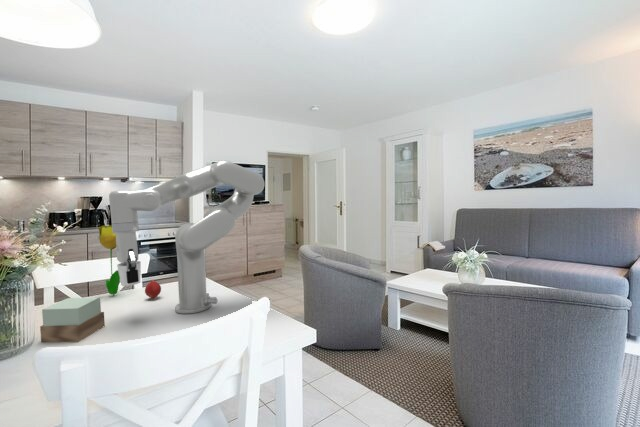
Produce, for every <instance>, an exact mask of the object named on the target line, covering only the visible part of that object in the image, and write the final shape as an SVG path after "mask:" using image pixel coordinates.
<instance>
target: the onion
mask: <svg viewBox="0 0 640 427" xmlns="http://www.w3.org/2000/svg"><path fill="white" fill-rule="evenodd" d="M161 292H162V286H161V284H160V283H159V282H157V281H155V279H151V281H150V282H148V283H147V284H146V286H145V288H144V293H145V295H146V296H148V297H149V298H150V299H153V300H154V299H156V298H157V297H158V296H159V295H160V293H161Z"/></svg>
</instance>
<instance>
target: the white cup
mask: <svg viewBox="0 0 640 427" xmlns="http://www.w3.org/2000/svg"><path fill="white" fill-rule="evenodd" d="M136 264H137V270H138V279H139V281H138V282H134V283H129V284H128V283H127V274H126V271H127V266H126V262H124V264H122V263H121V262H119V263H117V264H116V265H117V266H116V267H117V270H118V272H119V277H120V281H119V282H120V285H121V286H122V287H129V286H131V287H132V286H134V285H138V284H140V283H141V274H142V273H141V268H142V267H141V265H142V264H141V261H139V260H138V261H136Z"/></svg>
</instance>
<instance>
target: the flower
mask: <svg viewBox="0 0 640 427" xmlns="http://www.w3.org/2000/svg"><path fill="white" fill-rule="evenodd" d="M98 233H99V236H98V238H99V243H100V245H101V246H102V247H103V248H105V249H107V250H110V252H109V253H110V269H111V270H110V272H111V275H110V278H109V279H107V280H105V286H106V289H107V291H108V293H109V295H112V296H113V297H114V296H115V295H116V294H118V292H119V285H120V282H121V281H120V277H119V272H118V269H117V270H115V271H114V272H113V264H112V263H113V259H112V257H113V255H112V254H113V252H112V251H113V250H114V249H116V234H113V231H112V224H110V225H109V226H107V225H101V226H99V227H98Z"/></svg>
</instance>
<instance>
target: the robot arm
mask: <svg viewBox="0 0 640 427" xmlns="http://www.w3.org/2000/svg"><path fill="white" fill-rule="evenodd" d="M223 185H227V186H229V187H231V188H234V192H233V194H232V195H231V196H230V197H228V199H226V200H224V201H223V202H221V203H219V204H217V205H216V206H214V207H212V208H210V209H209V210H207V211H206V212H205V213H204V215H203V217H202V218H200V220H198V221H197V222H195V223H193V222H187V223H183V224H182V225H180V226H179V227H178V228H177V230H176V233H175V238H174V239H175V249H176V259H177V261H176V262H177V279H178V280H177V284H178V285H177V286H178V302H179V303H177V304H176V305H175V306H174V311H175V312H176V313H178V314H185V315H186V314H188V315H189V314H195V313H196V314H197V313H199V312H201V313H202V312H205V311H206V310H208V309H209V308H211V307H212V305H217V304H218V298H217V297H216V296H210V293H209V292H208V293H207V276H206V274H207V273H206V254H205V253H206V252H205V250H206V249H208V248H209V247H210V246H212V245H214V244H215V243H217V242H218V241H220V240H221V239H223V238H224V237H225V236H226V237H227V235H228V234H229V233H231V231H233V229H234V227H235V225H236V221H237V220H238V219H240V218H241V217H242V216H244V215H245V214H246V213H247V212H249V211H250V208H251V207H252V205H253V201H254V196H256V195H259V194H261V193H262V192H263V190H264V188H265V185H266V184H265V180H264V178H263V176H262V175H261V174H260V173H258V172H256V171H253V170H251V169H249V168H246V167H243V166H241V165H239V164H237V163H234V162H232V161H228V160H220V161H217V162H214V163H212V164H211V163H210V164H208V165H205V166H202V167H200V168H197V169H195V170H192V171H188V172H186V173H184V174H183V173H182V174H181V175H178V176H177V177H174V178H173V179H169V180H168V181H165V182H162V183H160V184H156V185H154V186H151V187H148V188H145V189H140V190H139V189H138V190H127V189H126V190H125V189H124V190H113V191H111V192H110V193H109V194H108V198H109V199H108V200H109V208H110V209H109V210H110V218H111V225H112V231H113V234H116V248H115V249H116V260H117V261H118V262H119V263H122V264H124V262H126V266H127V271H126V274H127V283H128V284H129V283H134V282H138V281H139V279H138V270H137V264H136V261H139V248H138V239H137V234H136V233H137V232H140V228H139V218H138V215H139V214H138V211H140V212H142V211H143V212H144V211H145V212H153V211H156V210H158V209H159V208H160V207H161V206H164V205H167V204H169V203H172V202H175V201H179V200H181V199H185V198H191V197H194V196H196V195H199V194H202V193H204V192H207V191H209V190H212V189H214V188H218V187H220V186H223Z"/></svg>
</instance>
